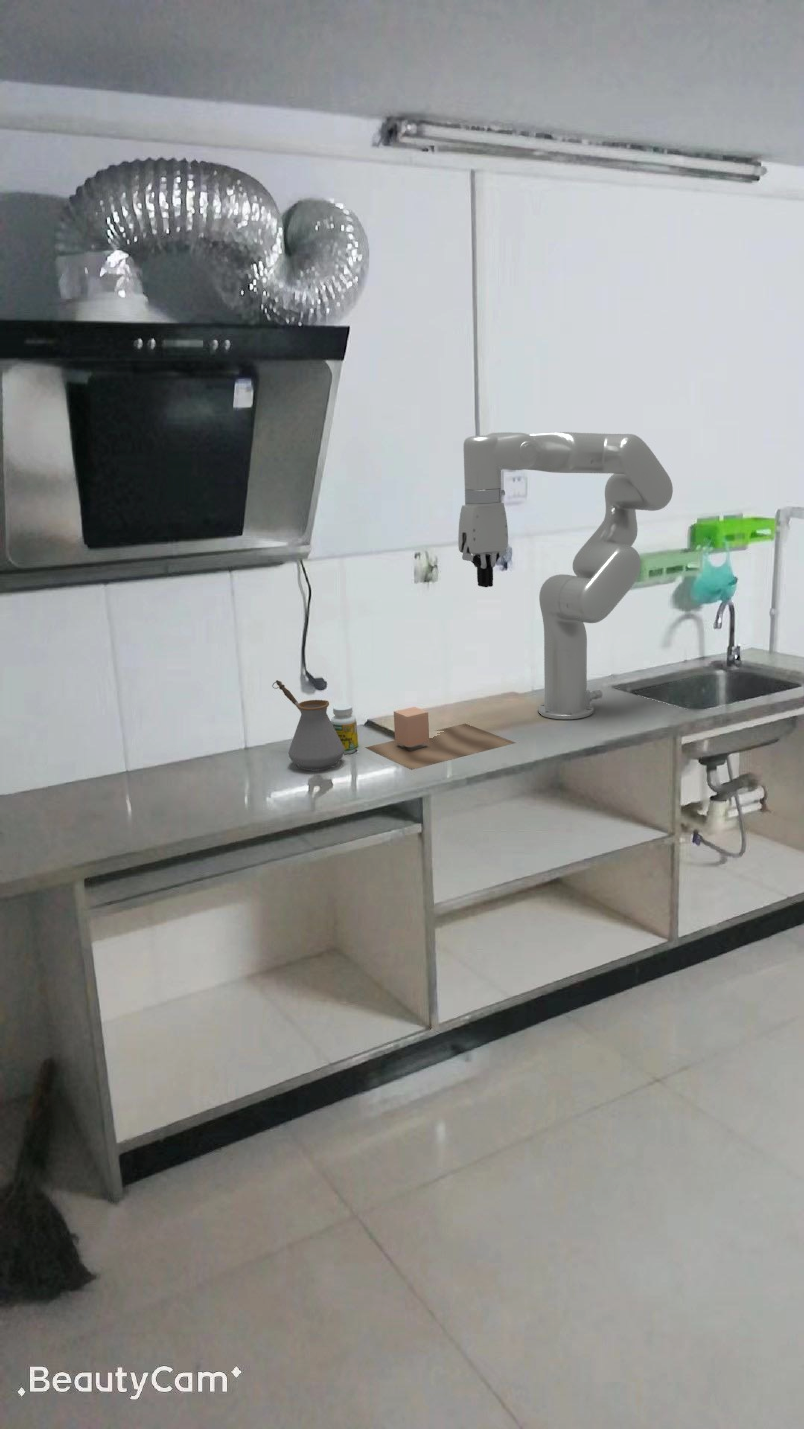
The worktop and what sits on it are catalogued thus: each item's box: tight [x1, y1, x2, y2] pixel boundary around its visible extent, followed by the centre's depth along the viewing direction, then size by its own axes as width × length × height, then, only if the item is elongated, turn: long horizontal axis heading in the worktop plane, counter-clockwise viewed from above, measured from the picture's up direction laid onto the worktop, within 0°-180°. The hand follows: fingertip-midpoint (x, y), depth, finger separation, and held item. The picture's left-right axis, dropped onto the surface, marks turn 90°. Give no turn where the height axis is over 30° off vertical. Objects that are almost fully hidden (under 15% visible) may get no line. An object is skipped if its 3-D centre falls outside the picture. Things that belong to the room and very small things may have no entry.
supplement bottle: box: [330, 704, 359, 755], centre depth 221 cm, size 5×5×10 cm
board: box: [365, 723, 516, 771], centre depth 221 cm, size 26×18×1 cm
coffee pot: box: [271, 680, 345, 771], centre depth 217 cm, size 21×12×15 cm, turn 34°
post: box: [398, 744, 427, 751], centre depth 219 cm, size 4×4×7 cm
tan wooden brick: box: [393, 706, 430, 748], centre depth 219 cm, size 5×5×7 cm
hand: (485, 586), depth 222 cm, fingers closed
